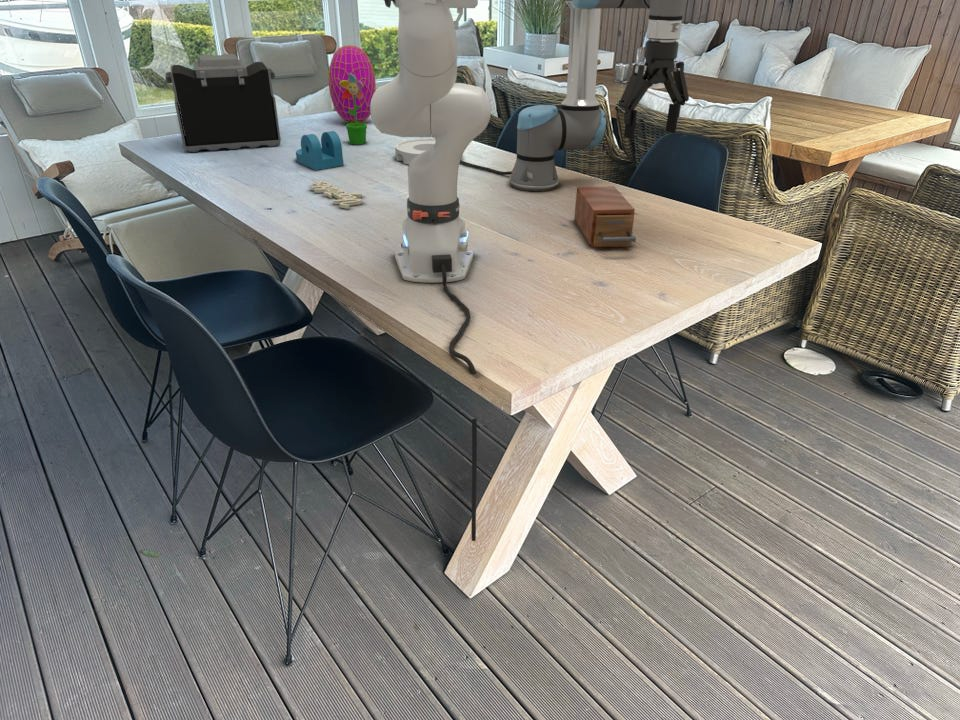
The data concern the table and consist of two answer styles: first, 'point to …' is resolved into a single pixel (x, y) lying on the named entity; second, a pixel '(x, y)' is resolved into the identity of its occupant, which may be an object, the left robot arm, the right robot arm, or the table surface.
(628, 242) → the drawer
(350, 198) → the decorative sign
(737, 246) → the table surface
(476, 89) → the left robot arm
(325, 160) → the camera mount
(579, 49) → the right robot arm
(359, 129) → the potted flower
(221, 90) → the electronic device
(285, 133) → the table surface
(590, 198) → the cabinet
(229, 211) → the table surface
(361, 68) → the decorative egg
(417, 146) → the ashtray
